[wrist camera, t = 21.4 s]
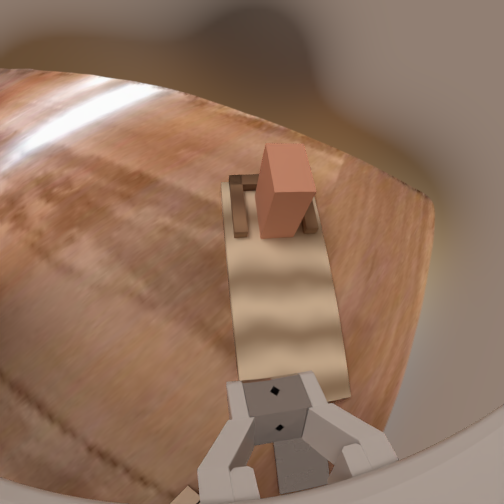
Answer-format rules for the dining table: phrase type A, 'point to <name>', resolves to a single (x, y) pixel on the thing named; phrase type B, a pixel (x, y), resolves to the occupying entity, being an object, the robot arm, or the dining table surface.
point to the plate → (299, 466)
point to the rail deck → (281, 296)
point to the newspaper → (187, 497)
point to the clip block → (283, 189)
